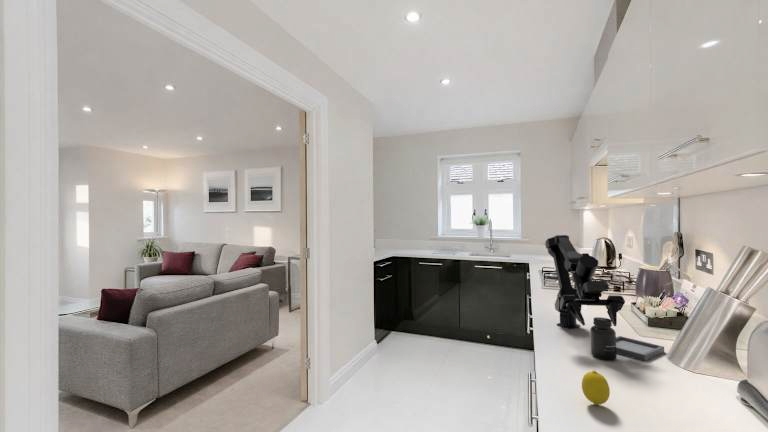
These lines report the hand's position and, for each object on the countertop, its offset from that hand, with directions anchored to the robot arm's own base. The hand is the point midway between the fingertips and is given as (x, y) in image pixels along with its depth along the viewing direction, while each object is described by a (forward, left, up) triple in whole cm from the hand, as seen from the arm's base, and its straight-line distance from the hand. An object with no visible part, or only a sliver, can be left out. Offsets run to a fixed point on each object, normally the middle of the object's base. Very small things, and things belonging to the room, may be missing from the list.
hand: (599, 325), depth 108 cm
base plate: (-12, +4, -9) cm, 15 cm away
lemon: (+32, +16, -10) cm, 37 cm away
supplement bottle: (+1, +2, -10) cm, 10 cm away
